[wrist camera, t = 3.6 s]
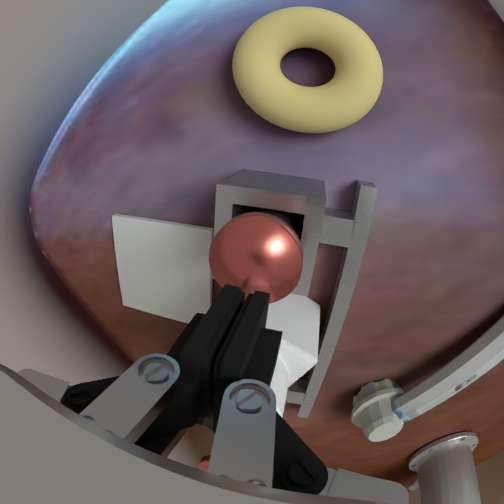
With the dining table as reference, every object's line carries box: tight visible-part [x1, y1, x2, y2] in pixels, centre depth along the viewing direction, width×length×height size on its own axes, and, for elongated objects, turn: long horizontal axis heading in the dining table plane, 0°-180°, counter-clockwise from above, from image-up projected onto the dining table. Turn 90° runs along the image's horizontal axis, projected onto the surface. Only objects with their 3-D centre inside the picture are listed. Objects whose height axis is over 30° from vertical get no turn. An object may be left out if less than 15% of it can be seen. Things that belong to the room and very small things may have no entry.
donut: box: [232, 7, 383, 133], centre depth 16 cm, size 10×5×9 cm
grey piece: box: [351, 315, 504, 442], centre depth 21 cm, size 5×7×25 cm
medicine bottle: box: [203, 294, 320, 430], centre depth 20 cm, size 7×7×12 cm
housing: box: [213, 170, 378, 418], centre depth 23 cm, size 25×10×6 cm, turn 175°
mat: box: [112, 214, 214, 324], centre depth 26 cm, size 10×10×1 cm
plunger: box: [209, 207, 303, 304], centre depth 18 cm, size 5×5×8 cm
